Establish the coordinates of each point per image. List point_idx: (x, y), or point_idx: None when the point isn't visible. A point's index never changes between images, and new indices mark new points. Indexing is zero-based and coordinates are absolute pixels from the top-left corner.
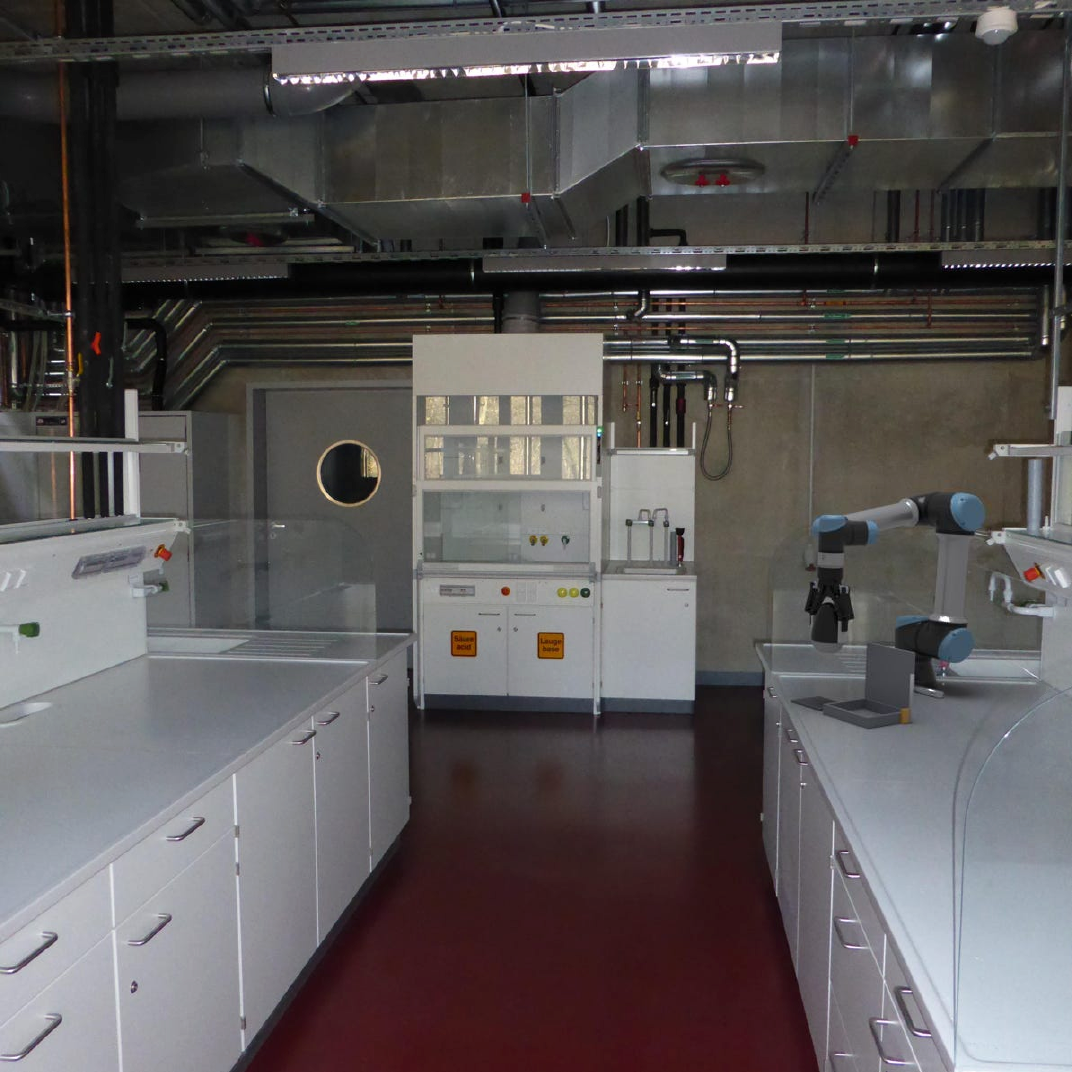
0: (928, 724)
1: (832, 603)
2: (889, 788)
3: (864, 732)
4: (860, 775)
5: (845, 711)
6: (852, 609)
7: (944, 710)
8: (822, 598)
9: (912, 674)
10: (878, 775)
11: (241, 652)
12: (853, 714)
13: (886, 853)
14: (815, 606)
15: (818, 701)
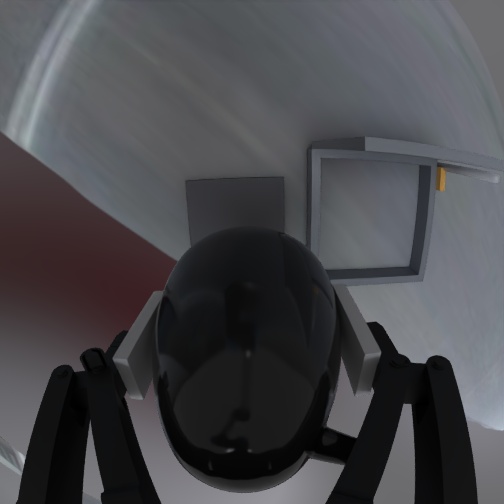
0: (449, 145)
1: (277, 479)
2: (491, 380)
3: (419, 292)
4: (469, 386)
5: (371, 284)
6: (461, 405)
7: (393, 25)
8: (150, 493)
9: (497, 178)
10: (480, 373)
11: (15, 465)
12: (390, 282)
13: (499, 421)
14: (139, 447)
15: (226, 221)
